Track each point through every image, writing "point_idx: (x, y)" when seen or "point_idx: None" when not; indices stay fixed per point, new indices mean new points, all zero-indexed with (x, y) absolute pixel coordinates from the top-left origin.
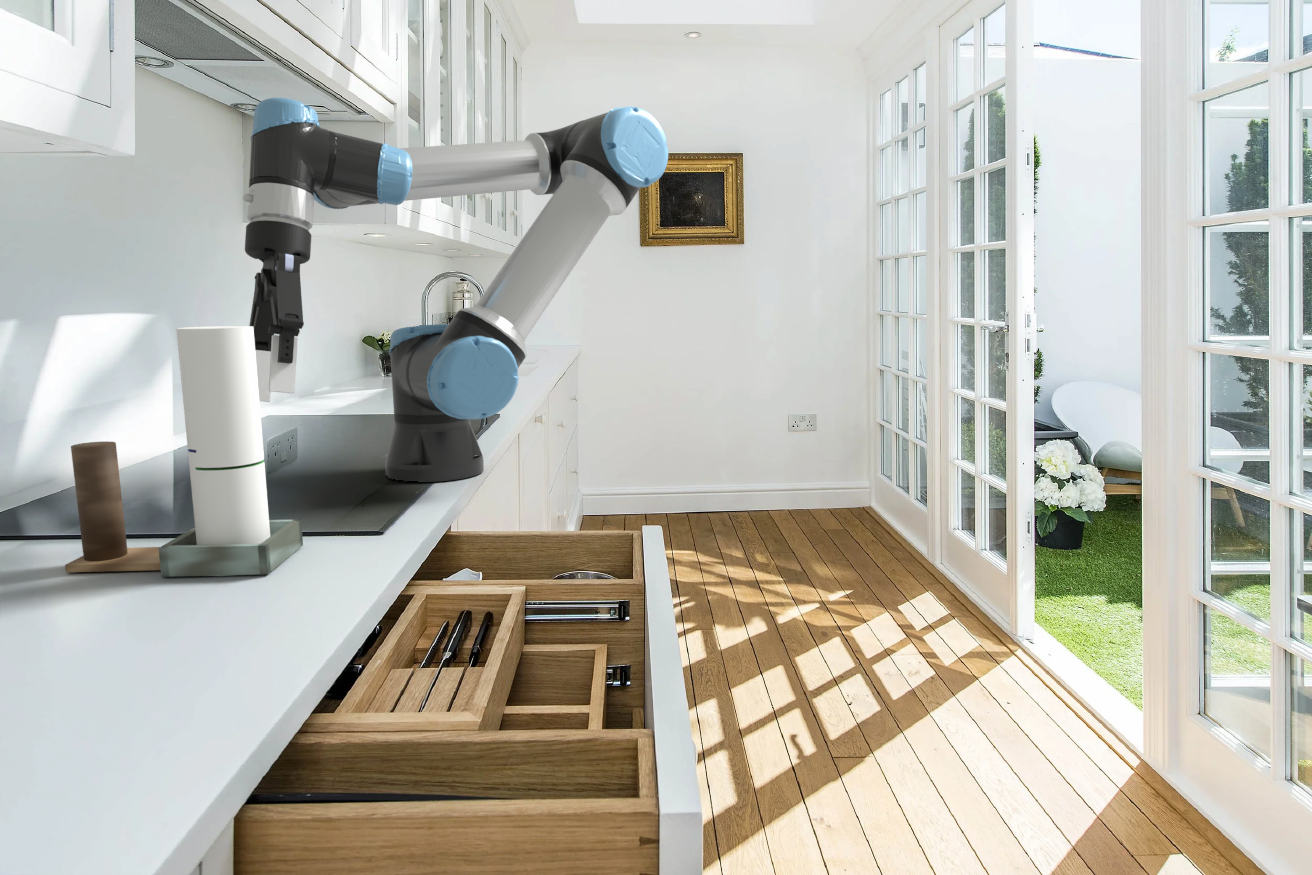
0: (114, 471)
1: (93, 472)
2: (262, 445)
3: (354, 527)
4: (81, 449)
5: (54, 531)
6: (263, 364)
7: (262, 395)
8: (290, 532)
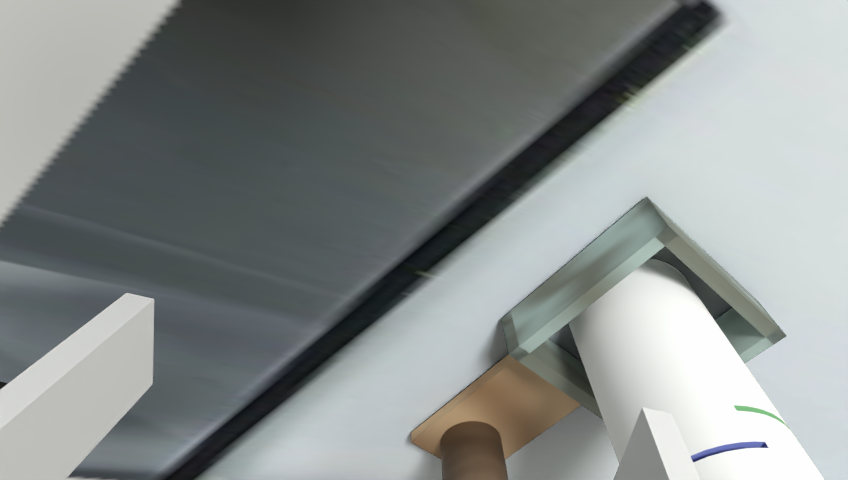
0: None
1: None
2: (795, 449)
3: (592, 34)
4: None
5: (162, 444)
6: (25, 455)
7: (138, 343)
8: (706, 259)
